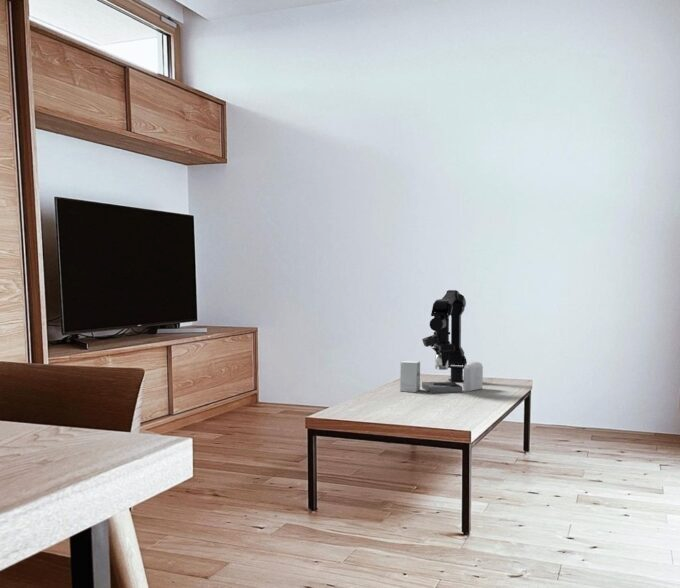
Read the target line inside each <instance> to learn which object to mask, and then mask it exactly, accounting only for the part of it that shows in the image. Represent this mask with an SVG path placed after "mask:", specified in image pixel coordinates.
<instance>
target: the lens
mask: <svg viewBox="0 0 680 588" xmlns="http://www.w3.org/2000/svg"><path fill="white" fill-rule="evenodd" d="M434 356H435V358H434V359H435V361H434V362H435V366H434V368H435V370H440V371H441V370H443V371H444V370H448V369H449V368H448V361H447V363H446V365H445V366H442V360H441V354H436V353H435V355H434Z"/></svg>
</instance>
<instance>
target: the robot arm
mask: <svg viewBox="0 0 680 588" xmlns="http://www.w3.org/2000/svg"><path fill="white" fill-rule="evenodd" d="M466 307H467V301H466V298H465V296H464V295H463V294H461V293H460V292H459V290H455V289H453V290H452V289H448V290H446V293H445V294H444V296H443V297H441V299H440V298H439V299H436V300H435V301H434V302H433V304H432V309H431V313H430V317H433V318H431V319H430V322H429V328H430V329H431V330H433V331H434V332H433V334H432V335H428V336H427V337H424V338H422V340H421V341H422V342H423V346H424V347H431V349H432V350H433V351H434V352H435V355H436V354H441V360H442V366H445V365H446V363H447V361H448V369H450V378H448V381H449V382H454V383H459V382H460V383H461V382H464V366H465V365H466V364H467V363H468V362H467V359H466V356H465V351H464V350H463V348H462V346H461V345H462V334H461V333H462V315H463V313H464V311H465V308H466ZM450 316H451V318H450ZM450 320H451V321H450ZM450 322H451V323H450ZM450 335H451V336H450Z"/></svg>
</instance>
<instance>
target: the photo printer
mask: <svg viewBox="0 0 680 588" xmlns="http://www.w3.org/2000/svg"><path fill="white" fill-rule="evenodd" d="M483 369H484V366H483V364H482V363H481V362H480V361H474V360H473V361H472V360H471V361H470V362H467V364H466V365H465V366H464V369H463V380H464V382H463V385H462V389H463V391H465V392H471V391H472V392H473V391H476V390H482V389H483V380H484V379H483V373H484V370H483Z"/></svg>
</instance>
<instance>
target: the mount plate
mask: <svg viewBox="0 0 680 588" xmlns="http://www.w3.org/2000/svg"><path fill="white" fill-rule="evenodd" d="M421 388H422V389H423V390H425V391H426V392H428V393H429V394H447V393H449V394H452V393H453V394H454V393H455V394H456V393H459V394H460V393H463V385H462V386H461V385H460V384H458V383H457V382H451V381H422V382H421Z"/></svg>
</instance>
